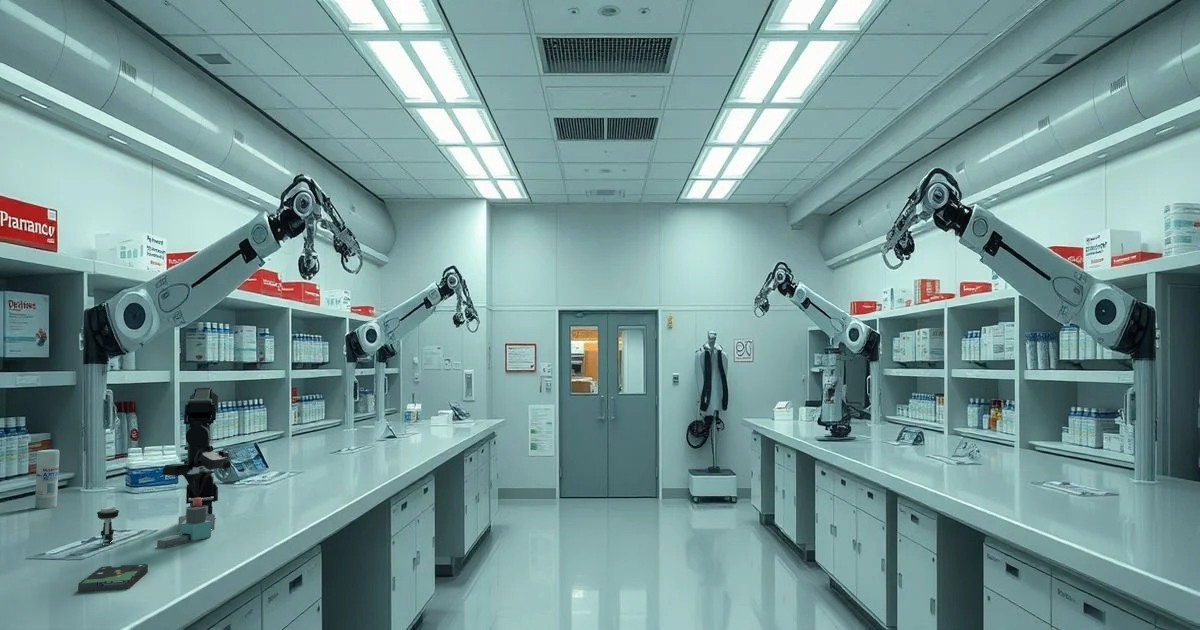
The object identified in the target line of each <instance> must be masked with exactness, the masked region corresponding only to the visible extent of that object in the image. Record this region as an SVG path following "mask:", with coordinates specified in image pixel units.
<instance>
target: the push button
mask: <svg viewBox="0 0 1200 630" xmlns="http://www.w3.org/2000/svg"><path fill="white" fill-rule="evenodd" d="M116 508H117V507H116V506H108V507H107V506H105V507H102V508H100V511H97V512H96V514H97V518H98V519H99V520H101V521H102V520H103V527H102V530H101V531H100V536H101V538H100V540H102V541H100V543H101V544H102V545H103V544H104V546H109V545H108V544H110V545H111V543H112V542H111V541H112V540H113V541H114V532H115V529H113V527H112V523H113V522H112V520H114V519H116V517H117V518H118V517H119V513H120V510H119V509H116ZM110 542H111V543H110Z"/></svg>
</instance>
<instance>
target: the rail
mask: <svg viewBox="0 0 1200 630" xmlns="http://www.w3.org/2000/svg"><path fill="white" fill-rule="evenodd" d="M211 537H212V535H211V536H210V537H209V538H211ZM205 539H208V538H207V537H206V538H205ZM205 539H204V538H202V539H197V540H193V541H191V534H186V533H185V534H181V535H180V534H178V535H173V536H168V537H164V538H160V539H157V540H156V548H161V549H167V548H171V547H174V546H175V547H177V546H178V545H179V546H180V545H183V544H187V543H191V542H195V541H200V540H205Z"/></svg>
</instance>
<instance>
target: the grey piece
mask: <svg viewBox="0 0 1200 630" xmlns="http://www.w3.org/2000/svg"><path fill="white" fill-rule="evenodd" d="M201 507H203V508H206V518H205V520H206V521H211V529H213V530H215V528H216V527H215V526H216V525H215V523H216V522H215V521H216V520H215V518H216V514H213V513H212V514H208V506H206V505H202V506H201ZM189 508H194V507H193V506H190V505H188V506H186V508H185V509H186V510H185V515H181V516H178V522H177V523H178V525H177V532H178V533H180V525H181V523H186V516H187V509H189Z"/></svg>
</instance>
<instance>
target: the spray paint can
mask: <svg viewBox="0 0 1200 630" xmlns="http://www.w3.org/2000/svg"><path fill="white" fill-rule="evenodd" d="M60 453H61V452H60V449H42V450H38V451H37V453H36V473H35V497H34V498H35V500H34V503H35V504H34V507H35V509H38V510H39V509H40V510H43V509H51V508H56V507H57V505H58V490H59V487H58V486H59V471H60V470H59V468H60Z"/></svg>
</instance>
